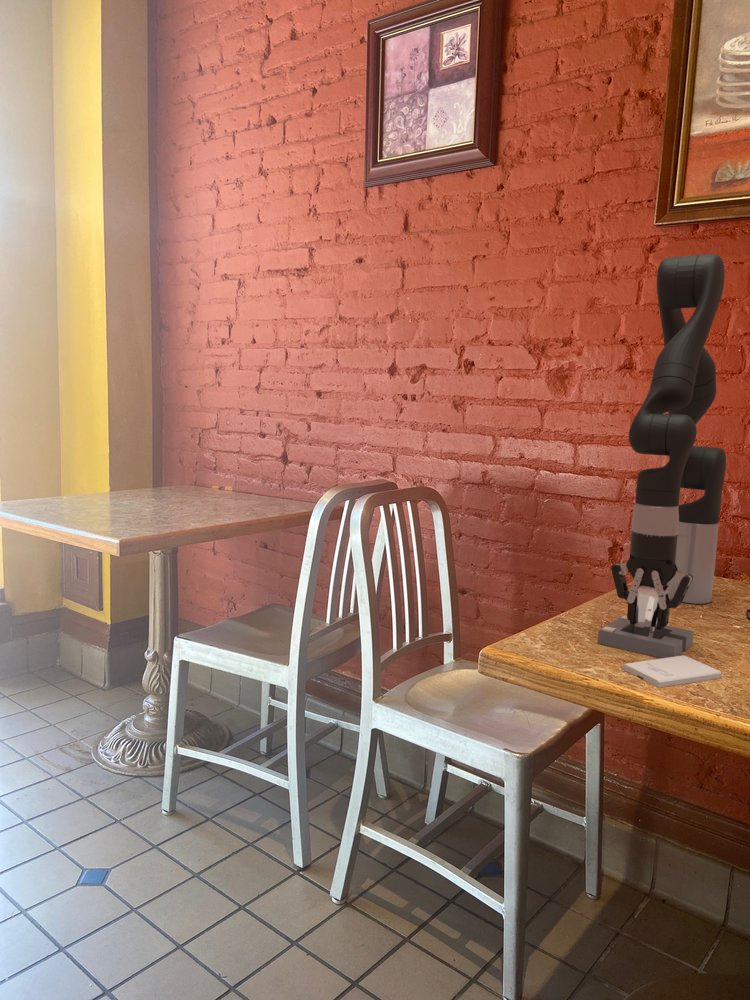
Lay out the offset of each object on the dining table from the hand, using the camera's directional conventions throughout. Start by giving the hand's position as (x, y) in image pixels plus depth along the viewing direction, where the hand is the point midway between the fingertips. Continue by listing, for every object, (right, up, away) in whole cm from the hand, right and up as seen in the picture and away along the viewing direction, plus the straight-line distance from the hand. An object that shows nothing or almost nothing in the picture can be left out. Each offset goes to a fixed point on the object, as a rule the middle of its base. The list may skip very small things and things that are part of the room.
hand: (646, 625), depth 132 cm
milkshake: (0, -2, 0) cm, 2 cm away
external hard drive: (-1, -6, -13) cm, 15 cm away
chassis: (0, -3, 0) cm, 3 cm away
